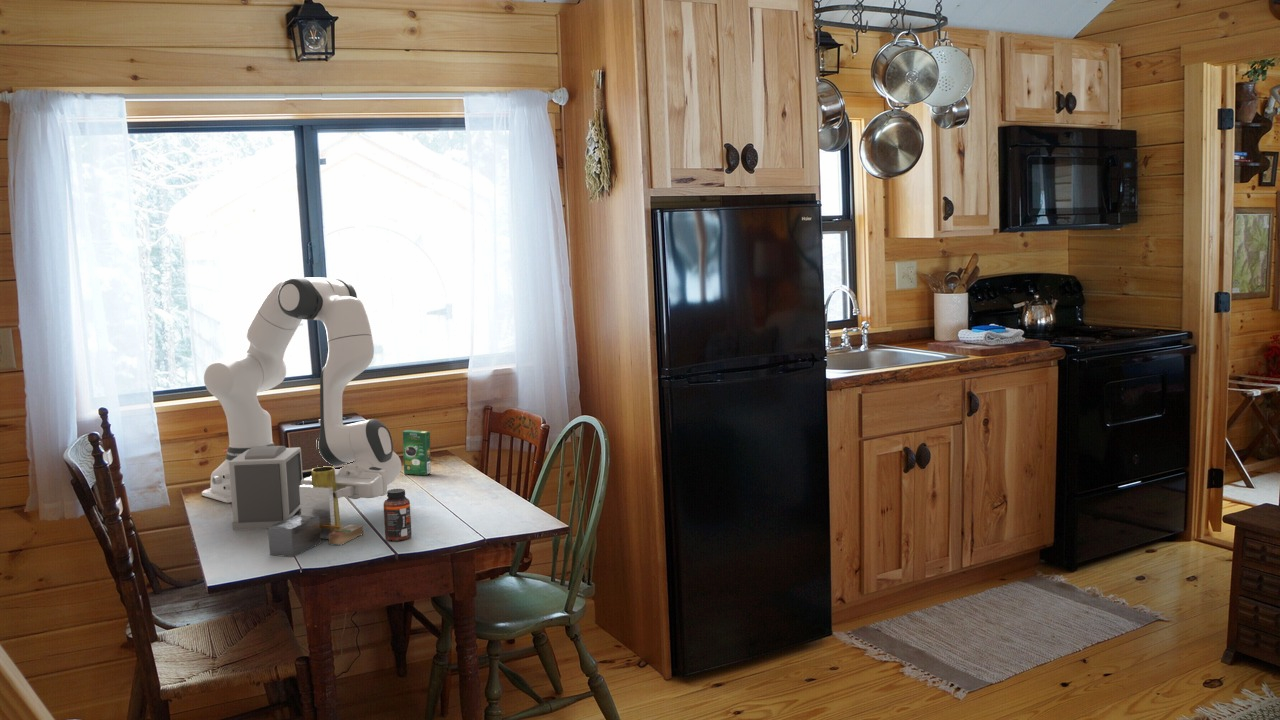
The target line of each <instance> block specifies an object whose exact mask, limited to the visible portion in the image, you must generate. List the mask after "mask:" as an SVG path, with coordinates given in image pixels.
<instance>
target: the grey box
mask: <svg viewBox="0 0 1280 720" xmlns="http://www.w3.org/2000/svg"><path fill="white" fill-rule="evenodd" d="M229 470H230V484H231V497H232V502H231V508H232V520H233V521H232V530H234V531H241V530H242V531H243V530H265V529H267V528H268V527H270V526H272V525H274V524H277V523H279V522H282V521H284V520H286V519H289V518H291V517H293V516H295V514H297V513H298V512H301V508H300V492H299V486H300V483H301V480H302V479H303V478H304V477H303V461H302V448H301V447H299V446H298V447H286V446H285V445H274V446H262V447H252V448H250V449H248V450H247V451H245V452H243V453H242V454H240V455H239V456H237V457H236V458H234V459H233V460H231V461H230V462H229ZM298 514H299V513H298ZM267 530H268V529H267Z"/></svg>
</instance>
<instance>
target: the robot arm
mask: <svg viewBox="0 0 1280 720" xmlns="http://www.w3.org/2000/svg"><path fill="white" fill-rule="evenodd" d="M354 288H355V287H353V286H352V285H351V284H350V283H349V282H346V281H345V280H342V279H333V278H329V277H319V276H317V277H303V276H297V277H293V278H292V277H291V278H289V279H288V278H287V279H282V280H279V281H278V282H277V283H275V284H274V285H273V287H272V288H271V289H270V290H269V291H268V293H267V294H266V296H264V299H263V300H262V301H261V303H260V305H259V307H258V308H257V310H256V312H255V313H254V316H253V317H252V320H251V321H250V322H249V325H248V327H247V329H246V331H245V334H246V335H245V336H246V338H247V340H248V342H249V344H248V346H247V349H246V350H245V352H243V353H242V354H239V355H233V356H226V357H222V358H220V359H218V360H216V361H214V362H212V363H210V364H209V365H208V366H207V367H206V369H205V370H204V375H203V381H204V385H205V389H206V390H207V391H208V393H209V394H210V395H212V396H213V397H215V398H216V400H218V402H219V403H220V405H221V408H222V409H223V412H224V415H225V417H226V423H227V432H228V441H229V444H228V447H223V448H222V449H223V453H225V460H224V461H223V462H222V463H220V465H219V466H218V467H217V468H215V469H214V470H213V471H212V472H211V474H210V487H209V488H207V489H204V490H202V491H201V496H203V497H206V498H209V499H213V500H217V501H220V502H223V503H232V497H231V484H230V470H229V462H230V461H231V460H233V459H234V458H236V457H237V456H239V455H240V454H242V453H243V452H245V451H247V450H248V449H250V448H252V447H262V446H275V443H274V441H273V431H272V430H273V428H272V417H271V414H270V413H269V411H267V409H266V410H265V408H262V406H261V403H260V402H259V399H258V395H257V394H258V393H262V392H267V391H269V390H271V389H274V388H275V387H277V386H279V385H280V384H281V383H283V381H284V380H285V378H286V375H287V368H286V364H285V361H284V356H285V352H286V350H287V348H288V345H289V344H290V342H291V341H292V338H293V337H294V335H295V332H296V330H297V329H298V327H299V325H300V323H301V322H302V320H306V321H320V322H321V323H322V324H323V326H324V328H325V331H326V339H327V340H326V341H327V348H328V351H327V357H326V362H325V365H324V366H323V367H322V369H321V372H320V379H319V411H320V413H319V414H320V415H319V416H320V417H319V419H320V426H319V433H318V434H319V436H318V438H319V441H318V449H319V453H320V455H321V456H322V458H323V459H324V460H325V461H326V462H328V463H329V464H331V465H333V466H340V465H343V464H347V463H350V462H353V461H354V462H353V463H350V464H348V465H345V466H344V467H342V468H341V470H340V471H339V473H338V475H336V474H335V479H336V490H333V498H338V499H340V498H345V497H346V498H347V499H351V500H358V499H375V498H377V497H383V496H387V491H388V486H390V484H392V483H393V482H394V481H396V480H397V479H398V477H399V476H400V474H401V471H402V461H401V458H400V457H399V455H398V454H397V453H396V452H395V451H394V446H393V445H394V443H393V438H392V435H391V432H390V430H389V429H388V427H387V426H386V425H385V424H384V423H383V422H382V421H380V420H378V419H376V418H370V419H366V420H365V419H364V420H361V421H356V422H353V423H347V424H344V422H343V393H344V391H345V388H346V387H347V385H348V384H349V383H350V382H351V381H352V380H353V379H355V378H356V377H358V376H359V375H360V374H361V373H363V372H364V371H366V369H367V368H368V367H369V366H370V364H371V363H372V362H373V361H372V360H373V359H374V354H375V351H374V350H375V348H374V347H375V346H374V339H373V336H372V335H373V334H372V329H371V325H370V321H369V318H368V314H367V312H366V310H365V307H364V304H363V302H362V301H361V300H360V299H358V296H357V291H356V289H354ZM301 485H312V475H310V476H306V477H303V479H302V480H301V483H300V486H301Z"/></svg>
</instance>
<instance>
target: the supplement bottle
mask: <svg viewBox="0 0 1280 720" xmlns="http://www.w3.org/2000/svg"><path fill="white" fill-rule="evenodd" d="M386 497H387V498H386V499H385V500H384V502H383V521H384V522H383V523H384V535H385V539H386V540H387V541H389V540H392V541H391V542H399V540H402V541H406V540H408V539H410V538H411V537H412V518H411V502H410V499H409V498H407V496H406V490H405V489H404V488H393V489H389V490H388V489H387V494H386Z"/></svg>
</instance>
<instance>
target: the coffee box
mask: <svg viewBox="0 0 1280 720" xmlns="http://www.w3.org/2000/svg"><path fill="white" fill-rule="evenodd" d="M402 444H403V445H402V446H403V448H402V449H403V454H402V455H403V472H404V473H403V474H404V475H408V474H415V475H416V476H422V475H423V476H425V475H427V476H429V475H428V474H430V473H431V474H432V463H431V432H430V431H427V430H412V429H405V430H402ZM431 474H430V475H431ZM415 475H414V476H415Z"/></svg>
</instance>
